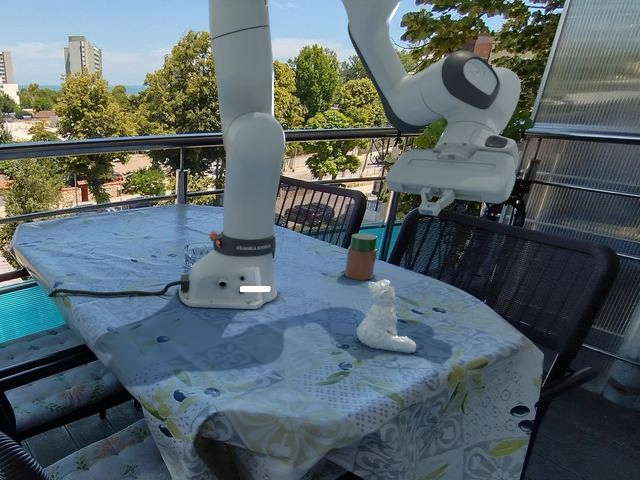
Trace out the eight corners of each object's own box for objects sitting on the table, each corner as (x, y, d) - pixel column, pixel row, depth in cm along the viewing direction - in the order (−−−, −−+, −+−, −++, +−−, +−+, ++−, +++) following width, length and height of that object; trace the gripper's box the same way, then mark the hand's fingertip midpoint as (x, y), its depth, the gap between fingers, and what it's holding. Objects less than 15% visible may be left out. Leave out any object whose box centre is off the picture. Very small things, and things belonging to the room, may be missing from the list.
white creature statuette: (418, 354, 80) (432, 289, 75) (369, 357, 79) (380, 292, 75) (389, 329, 88) (399, 270, 84) (345, 332, 88) (353, 272, 83)
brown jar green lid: (351, 280, 112) (356, 240, 108) (340, 271, 118) (345, 233, 114) (377, 279, 113) (383, 239, 109) (365, 270, 118) (371, 232, 115)
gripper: (401, 137, 90) (367, 195, 88) (527, 141, 75) (489, 211, 73) (408, 158, 94) (376, 214, 93) (529, 166, 79) (493, 233, 78)
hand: (427, 213), depth 83 cm, fingers closed
